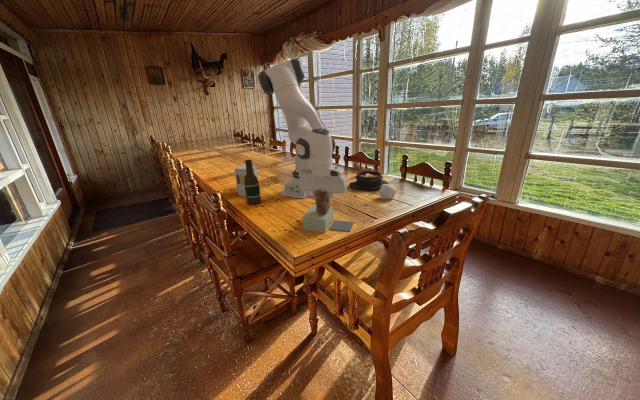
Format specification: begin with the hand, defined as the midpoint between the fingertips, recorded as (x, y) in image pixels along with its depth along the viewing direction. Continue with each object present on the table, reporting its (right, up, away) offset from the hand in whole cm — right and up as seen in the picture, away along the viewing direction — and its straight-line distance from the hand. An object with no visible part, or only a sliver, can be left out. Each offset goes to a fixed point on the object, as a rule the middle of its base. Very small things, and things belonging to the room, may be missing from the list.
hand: (323, 201), depth 110 cm
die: (+36, +1, +31) cm, 47 cm away
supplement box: (-45, +4, +47) cm, 65 cm away
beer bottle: (-38, -1, +33) cm, 50 cm away
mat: (+8, -11, +2) cm, 14 cm away
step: (-2, -10, +5) cm, 11 cm away
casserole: (+29, +9, +51) cm, 60 cm away
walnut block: (0, -4, +2) cm, 4 cm away
